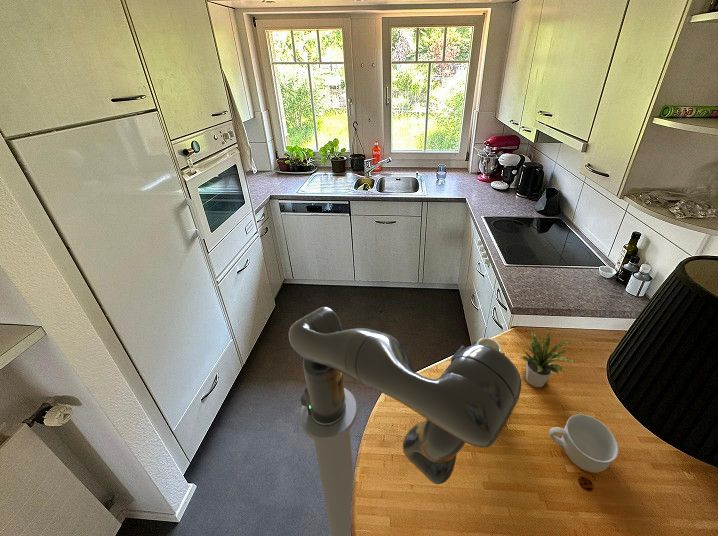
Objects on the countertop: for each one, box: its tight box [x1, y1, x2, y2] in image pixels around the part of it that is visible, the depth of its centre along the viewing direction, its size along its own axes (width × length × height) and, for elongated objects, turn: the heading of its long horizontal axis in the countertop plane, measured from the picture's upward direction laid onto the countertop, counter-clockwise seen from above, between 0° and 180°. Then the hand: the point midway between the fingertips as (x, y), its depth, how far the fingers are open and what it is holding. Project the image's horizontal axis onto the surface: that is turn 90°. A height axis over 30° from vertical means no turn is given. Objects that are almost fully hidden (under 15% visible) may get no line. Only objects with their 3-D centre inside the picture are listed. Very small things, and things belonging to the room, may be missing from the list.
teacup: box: [548, 413, 619, 473], centre depth 78 cm, size 14×11×8 cm
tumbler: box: [476, 337, 503, 353], centre depth 87 cm, size 6×6×10 cm
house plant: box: [519, 329, 576, 388], centre depth 94 cm, size 14×14×16 cm
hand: (490, 349), depth 87 cm, fingers closed on tumbler, 6 cm apart
